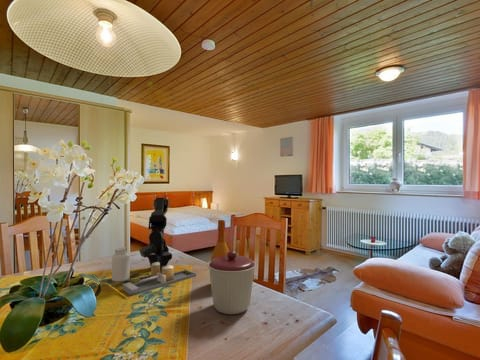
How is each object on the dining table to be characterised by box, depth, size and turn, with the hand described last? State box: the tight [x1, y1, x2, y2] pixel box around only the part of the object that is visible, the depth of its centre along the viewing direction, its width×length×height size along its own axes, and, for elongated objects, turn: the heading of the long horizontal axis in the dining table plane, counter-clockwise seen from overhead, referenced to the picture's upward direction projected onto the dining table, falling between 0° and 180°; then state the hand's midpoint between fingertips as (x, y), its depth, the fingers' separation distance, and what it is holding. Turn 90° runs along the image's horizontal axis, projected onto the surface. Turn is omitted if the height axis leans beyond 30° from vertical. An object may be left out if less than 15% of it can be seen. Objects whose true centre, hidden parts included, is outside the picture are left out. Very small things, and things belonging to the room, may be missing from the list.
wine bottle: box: [210, 219, 230, 261], centre depth 118 cm, size 10×10×30 cm
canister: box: [207, 250, 257, 315], centre depth 98 cm, size 18×18×21 cm
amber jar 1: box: [150, 262, 161, 277], centre depth 130 cm, size 6×6×7 cm
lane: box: [122, 268, 197, 297], centre depth 121 cm, size 9×32×3 cm, turn 136°
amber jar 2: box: [162, 264, 175, 282], centre depth 123 cm, size 6×6×7 cm
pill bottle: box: [111, 246, 131, 282], centre depth 126 cm, size 8×8×15 cm
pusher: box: [138, 272, 166, 283], centre depth 117 cm, size 7×11×4 cm, turn 136°
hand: (157, 270), depth 130 cm, fingers open, 9 cm apart
